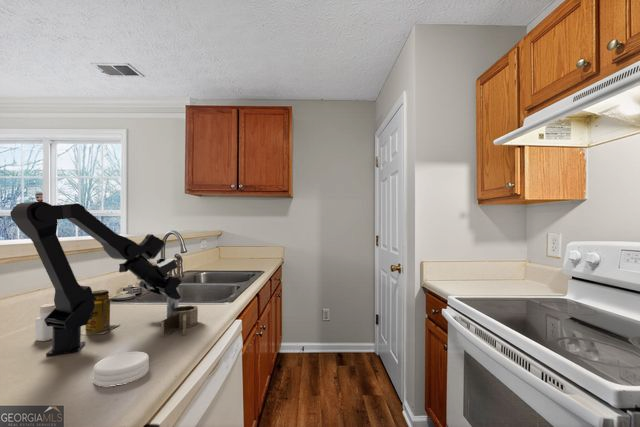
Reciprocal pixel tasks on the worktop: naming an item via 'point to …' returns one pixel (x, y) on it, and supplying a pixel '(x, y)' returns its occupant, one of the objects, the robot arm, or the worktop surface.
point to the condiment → (100, 314)
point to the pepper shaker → (41, 328)
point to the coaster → (121, 368)
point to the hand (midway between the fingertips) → (176, 297)
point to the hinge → (180, 319)
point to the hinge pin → (171, 304)
